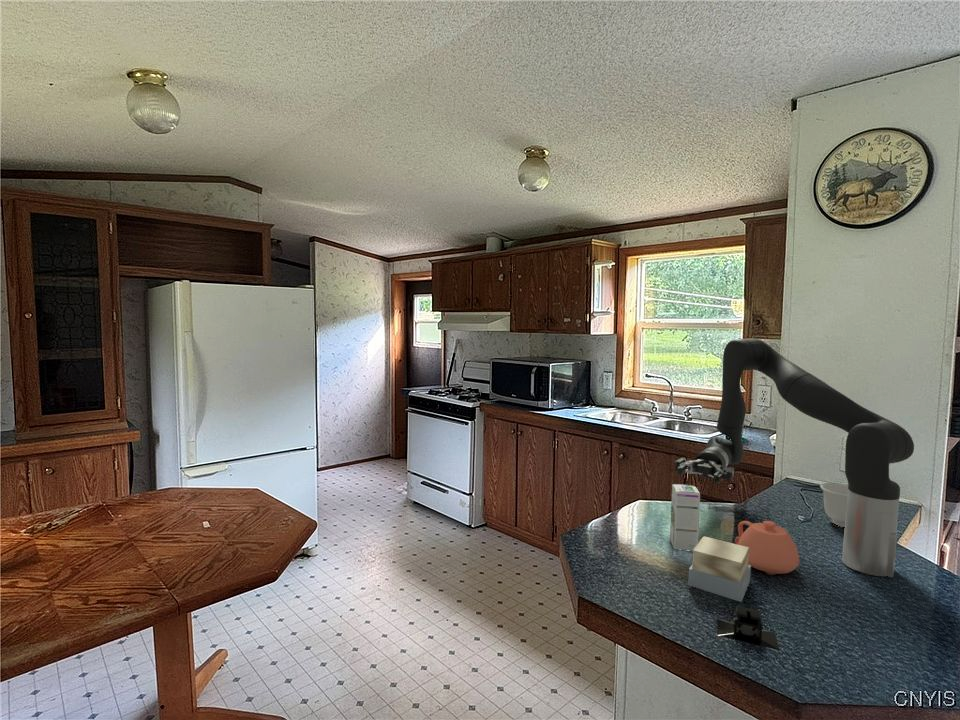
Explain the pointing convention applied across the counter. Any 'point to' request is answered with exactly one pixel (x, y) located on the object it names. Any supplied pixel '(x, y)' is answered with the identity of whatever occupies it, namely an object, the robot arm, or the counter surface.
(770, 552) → the salmon teapot
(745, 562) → the tower top
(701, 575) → the tower base
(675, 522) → the syrup box
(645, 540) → the counter surface
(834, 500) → the teacup
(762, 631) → the black slotted chunky part
